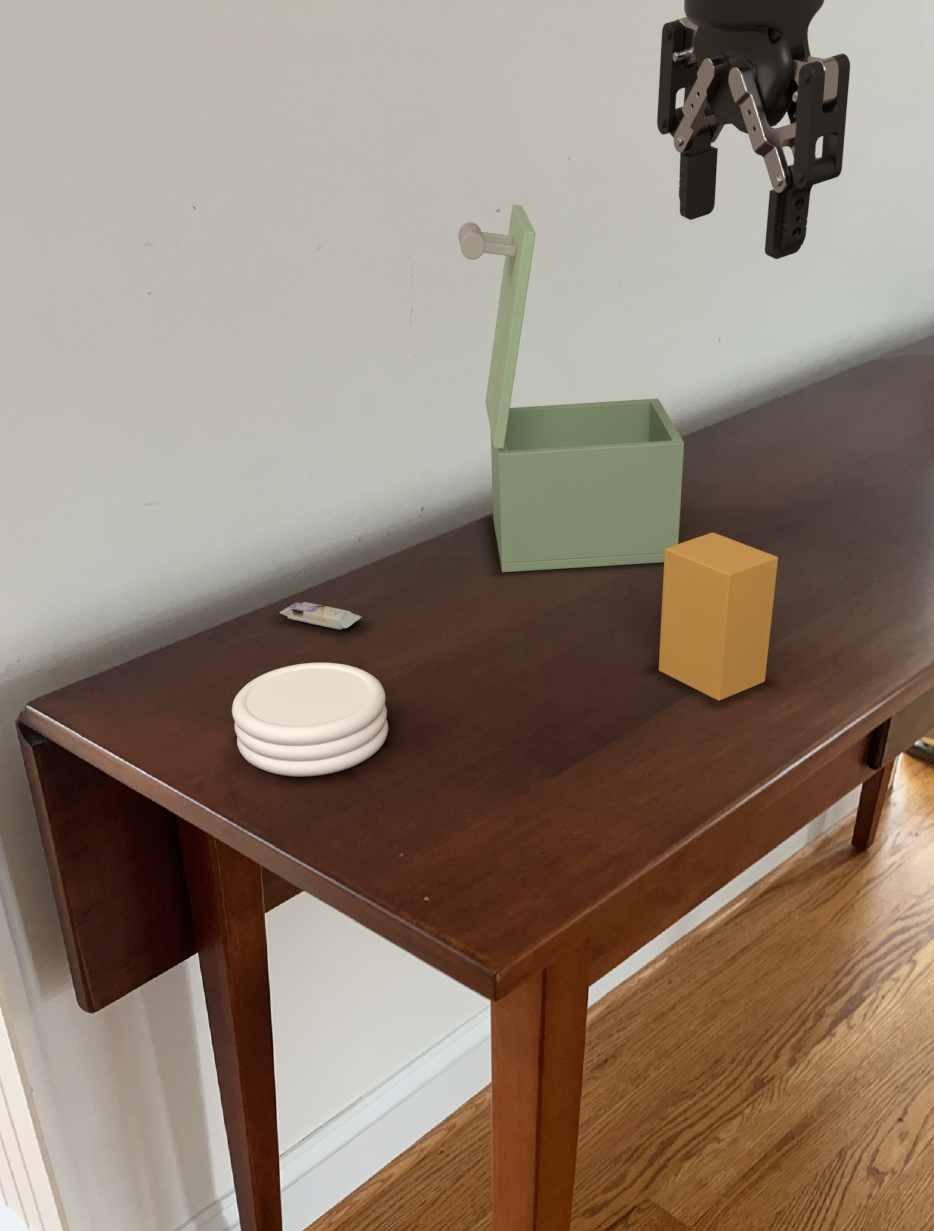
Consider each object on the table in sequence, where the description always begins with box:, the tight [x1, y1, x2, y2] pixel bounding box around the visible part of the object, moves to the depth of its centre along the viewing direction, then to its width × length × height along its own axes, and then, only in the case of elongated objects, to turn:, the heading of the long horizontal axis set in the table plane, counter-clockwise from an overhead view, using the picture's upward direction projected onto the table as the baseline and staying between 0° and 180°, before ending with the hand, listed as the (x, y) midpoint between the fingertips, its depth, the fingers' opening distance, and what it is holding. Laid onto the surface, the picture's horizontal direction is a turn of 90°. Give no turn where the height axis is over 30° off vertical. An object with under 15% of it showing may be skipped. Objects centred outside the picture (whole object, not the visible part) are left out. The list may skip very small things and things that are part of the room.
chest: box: [490, 398, 685, 573], centre depth 107 cm, size 15×13×10 cm
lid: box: [458, 204, 536, 449], centre depth 100 cm, size 15×13×5 cm
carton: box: [658, 532, 779, 702], centre depth 86 cm, size 4×6×9 cm
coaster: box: [231, 662, 389, 778], centre depth 83 cm, size 10×10×4 cm
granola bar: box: [279, 600, 362, 630], centre depth 99 cm, size 7×1×3 cm
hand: (738, 234), depth 78 cm, fingers open, 8 cm apart
